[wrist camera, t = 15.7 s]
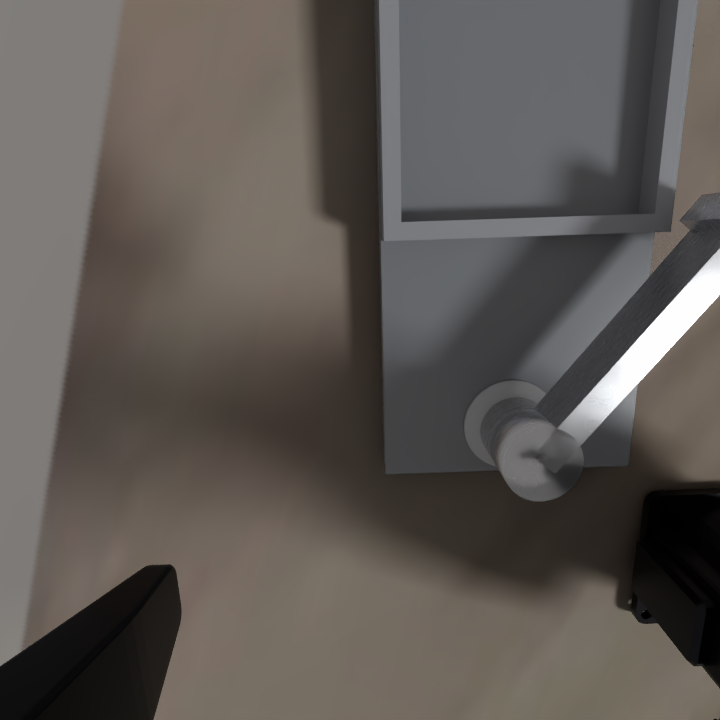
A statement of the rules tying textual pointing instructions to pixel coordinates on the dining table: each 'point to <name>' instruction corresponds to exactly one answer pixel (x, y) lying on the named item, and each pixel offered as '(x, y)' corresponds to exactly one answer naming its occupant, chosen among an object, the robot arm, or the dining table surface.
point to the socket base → (515, 203)
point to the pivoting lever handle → (606, 366)
